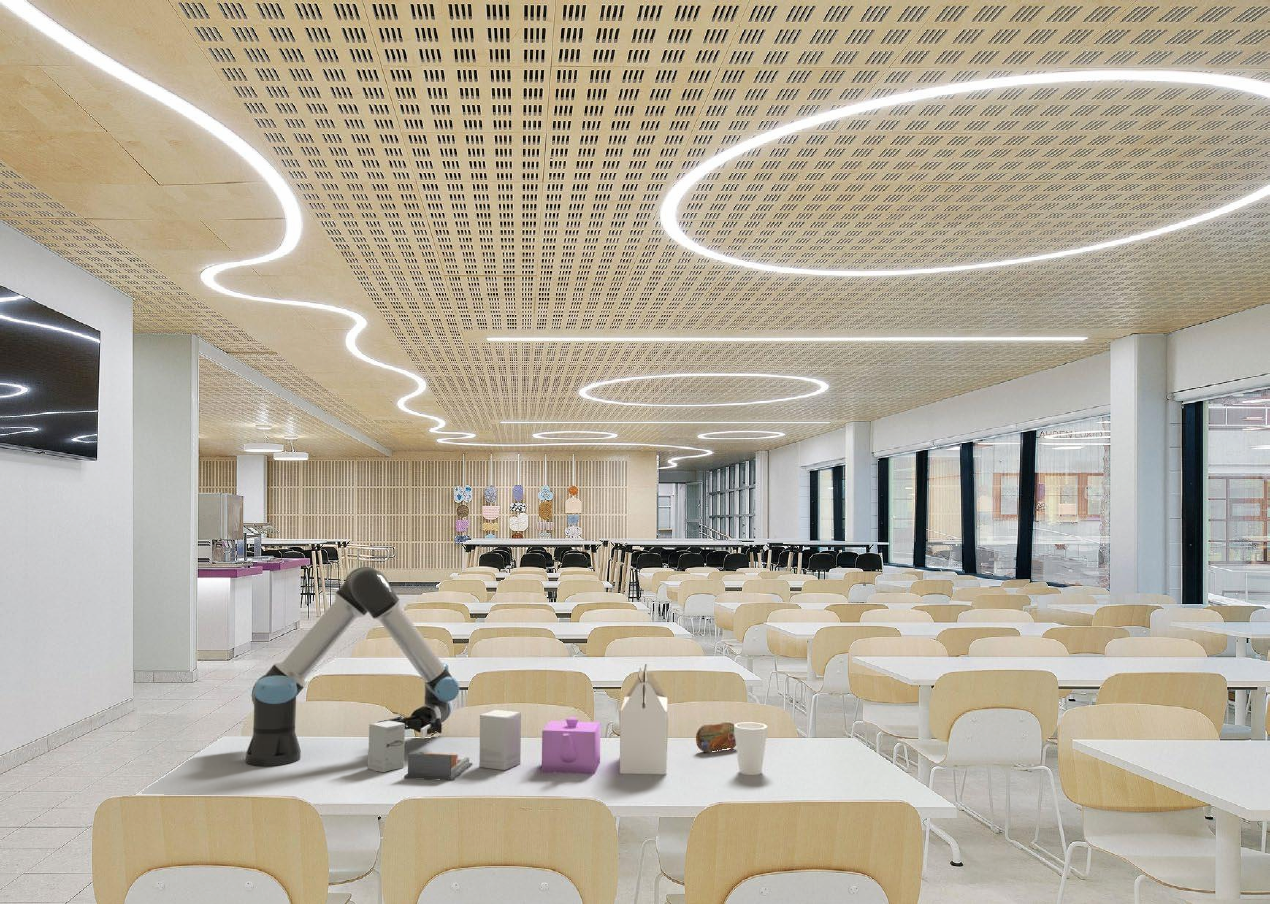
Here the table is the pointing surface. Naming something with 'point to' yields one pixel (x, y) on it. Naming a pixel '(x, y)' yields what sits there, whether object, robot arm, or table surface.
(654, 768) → the gable box
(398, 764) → the supplement box
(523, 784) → the table surface
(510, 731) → the supplement box
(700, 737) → the tin
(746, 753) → the foam cup
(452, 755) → the spring pusher
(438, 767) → the pusher lane
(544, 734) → the teapot
